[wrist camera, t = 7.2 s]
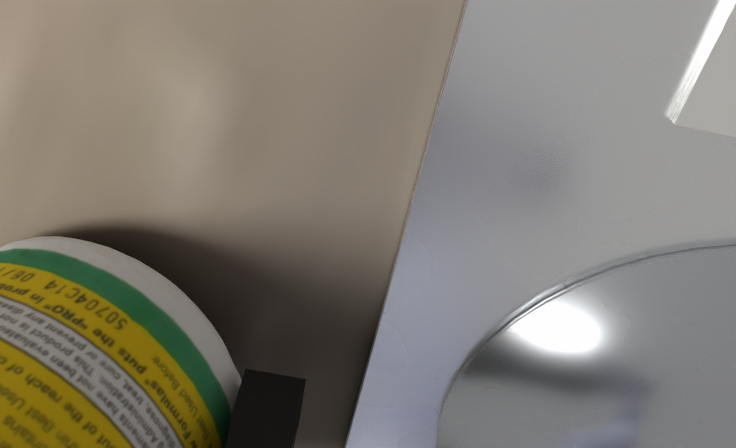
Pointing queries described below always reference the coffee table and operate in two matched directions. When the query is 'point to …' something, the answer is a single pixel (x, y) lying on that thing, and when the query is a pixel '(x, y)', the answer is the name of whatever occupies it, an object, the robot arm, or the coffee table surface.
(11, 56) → the coffee table surface
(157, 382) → the supplement bottle
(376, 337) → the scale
